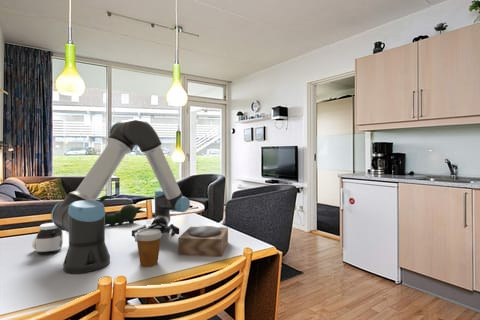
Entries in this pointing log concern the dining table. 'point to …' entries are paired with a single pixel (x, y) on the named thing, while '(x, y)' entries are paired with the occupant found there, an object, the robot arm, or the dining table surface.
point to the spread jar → (48, 239)
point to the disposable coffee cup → (148, 246)
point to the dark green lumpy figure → (120, 213)
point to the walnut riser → (203, 241)
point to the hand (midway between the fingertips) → (153, 237)
